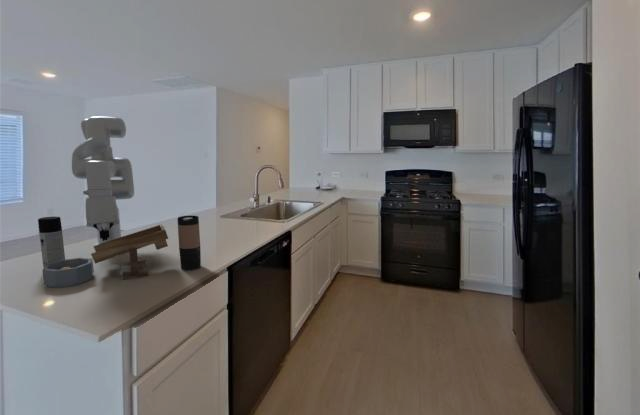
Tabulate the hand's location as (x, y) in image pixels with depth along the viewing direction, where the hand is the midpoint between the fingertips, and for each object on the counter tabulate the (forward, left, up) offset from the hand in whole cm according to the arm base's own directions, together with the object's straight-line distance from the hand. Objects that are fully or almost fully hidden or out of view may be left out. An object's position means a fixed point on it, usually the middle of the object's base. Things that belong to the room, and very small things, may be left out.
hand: (105, 239), depth 126 cm
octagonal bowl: (+11, -10, -11) cm, 19 cm away
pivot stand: (+11, +9, -11) cm, 18 cm away
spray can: (-6, -17, -11) cm, 21 cm away
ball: (+11, -12, -8) cm, 18 cm away
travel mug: (+19, +28, -11) cm, 35 cm away
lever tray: (+8, +10, -4) cm, 13 cm away
